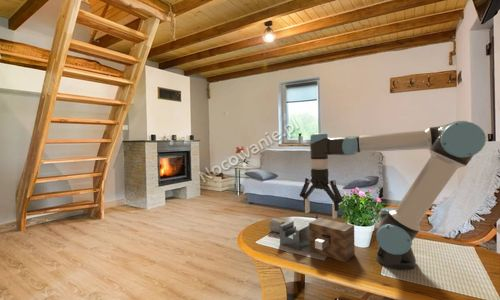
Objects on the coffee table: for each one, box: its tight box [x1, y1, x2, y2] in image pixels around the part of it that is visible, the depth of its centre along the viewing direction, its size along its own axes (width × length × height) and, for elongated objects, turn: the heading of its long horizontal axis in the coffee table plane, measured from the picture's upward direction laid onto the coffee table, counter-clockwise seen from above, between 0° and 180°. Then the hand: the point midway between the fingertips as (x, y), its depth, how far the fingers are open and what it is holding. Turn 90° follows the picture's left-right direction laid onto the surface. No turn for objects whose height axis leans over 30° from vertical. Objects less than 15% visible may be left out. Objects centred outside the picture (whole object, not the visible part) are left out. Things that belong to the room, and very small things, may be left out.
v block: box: [279, 220, 310, 251], centre depth 135 cm, size 12×10×10 cm
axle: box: [315, 235, 331, 250], centre depth 121 cm, size 4×16×4 cm, turn 136°
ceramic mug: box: [268, 217, 286, 234], centre depth 154 cm, size 11×8×8 cm
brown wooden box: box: [308, 217, 355, 263], centre depth 124 cm, size 18×10×14 cm, turn 46°
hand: (320, 215), depth 116 cm, fingers open, 13 cm apart
